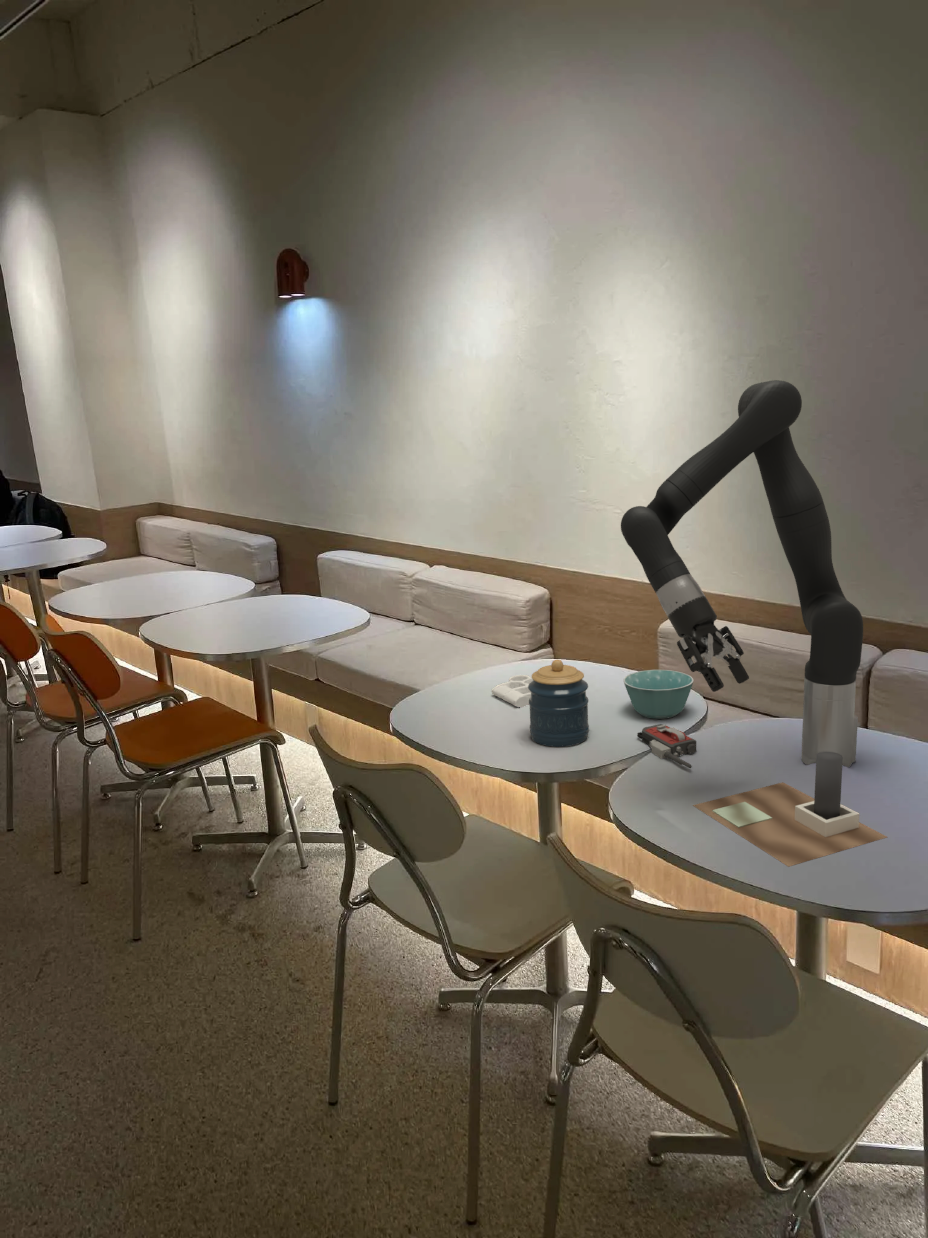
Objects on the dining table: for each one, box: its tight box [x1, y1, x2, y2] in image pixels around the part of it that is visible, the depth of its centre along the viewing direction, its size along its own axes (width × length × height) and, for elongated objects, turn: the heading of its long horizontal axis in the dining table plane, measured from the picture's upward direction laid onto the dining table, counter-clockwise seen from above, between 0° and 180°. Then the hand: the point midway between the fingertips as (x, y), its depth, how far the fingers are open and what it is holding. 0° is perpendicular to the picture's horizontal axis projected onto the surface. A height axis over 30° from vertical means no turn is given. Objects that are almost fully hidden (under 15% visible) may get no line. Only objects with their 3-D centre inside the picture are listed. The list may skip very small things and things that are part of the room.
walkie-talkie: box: [636, 723, 697, 769], centre depth 186 cm, size 9×4×20 cm
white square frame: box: [795, 801, 861, 837], centre depth 149 cm, size 7×7×2 cm
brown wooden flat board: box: [692, 782, 888, 868], centre depth 151 cm, size 20×24×2 cm
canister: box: [528, 659, 590, 748], centre depth 195 cm, size 13×13×18 cm
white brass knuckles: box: [491, 674, 533, 708], centre depth 225 cm, size 3×18×15 cm
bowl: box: [623, 669, 695, 720], centre depth 208 cm, size 16×16×8 cm
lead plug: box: [813, 752, 843, 820], centre depth 148 cm, size 4×4×12 cm
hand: (731, 685), depth 156 cm, fingers open, 8 cm apart
